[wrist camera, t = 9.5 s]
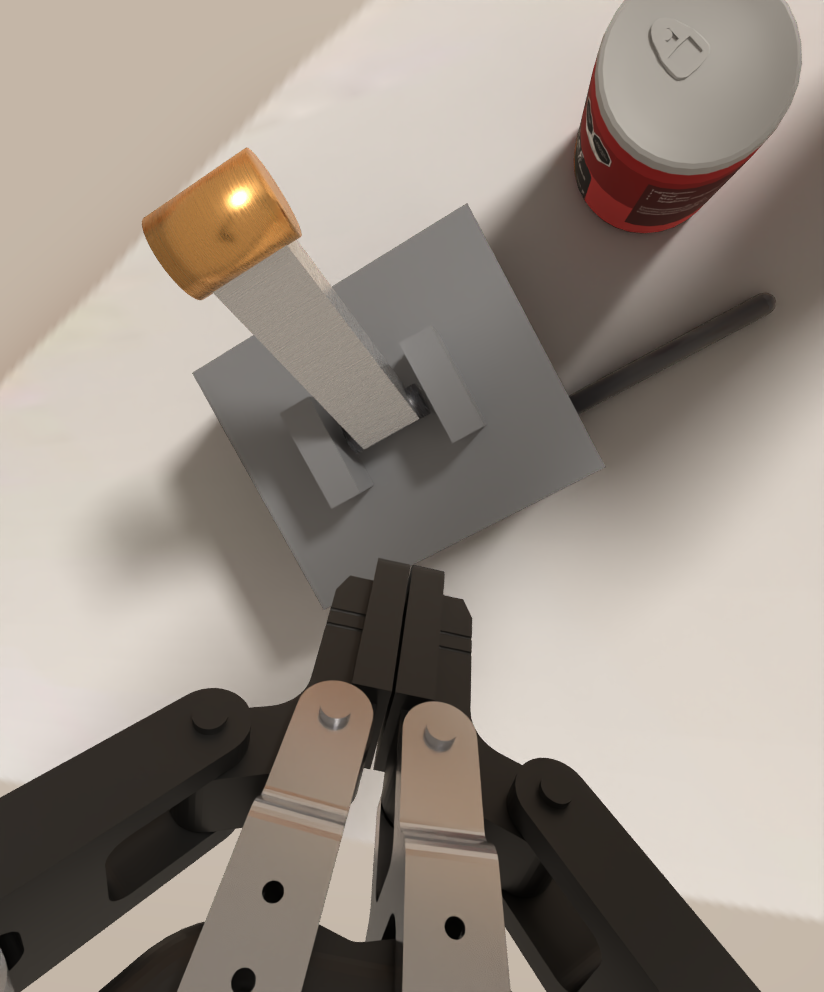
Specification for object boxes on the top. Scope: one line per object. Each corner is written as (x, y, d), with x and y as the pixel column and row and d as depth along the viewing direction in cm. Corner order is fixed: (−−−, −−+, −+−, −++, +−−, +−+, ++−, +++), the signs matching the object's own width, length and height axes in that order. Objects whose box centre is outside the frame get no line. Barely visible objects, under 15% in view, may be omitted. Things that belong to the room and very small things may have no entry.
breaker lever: (419, 385, 32) (238, 130, 21) (438, 430, 31) (253, 178, 19) (350, 425, 33) (139, 199, 22) (365, 470, 31) (144, 252, 20)
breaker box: (679, 121, 36) (750, 0, 25) (793, 348, 37) (910, 324, 26) (252, 379, 42) (161, 370, 31) (358, 572, 42) (306, 628, 32)
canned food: (619, 63, 36) (665, -81, 25) (747, 134, 36) (849, 18, 25) (544, 193, 38) (557, 108, 27) (666, 263, 37) (729, 205, 27)
